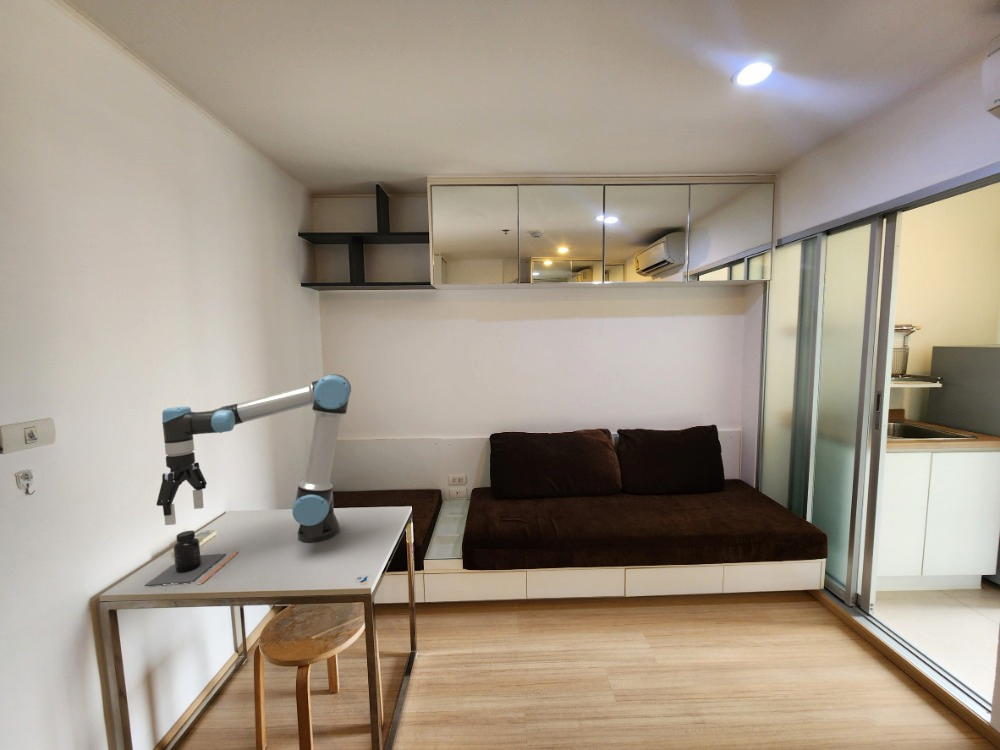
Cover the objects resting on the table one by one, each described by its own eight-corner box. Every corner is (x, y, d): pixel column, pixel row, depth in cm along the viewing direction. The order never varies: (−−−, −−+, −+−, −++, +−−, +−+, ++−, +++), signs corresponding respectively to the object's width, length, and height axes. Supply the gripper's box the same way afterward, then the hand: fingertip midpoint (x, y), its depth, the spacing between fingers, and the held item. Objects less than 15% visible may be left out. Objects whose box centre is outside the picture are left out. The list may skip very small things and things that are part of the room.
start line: (238, 553, 146) (238, 551, 146) (202, 584, 126) (202, 582, 126) (234, 553, 145) (234, 552, 145) (197, 584, 126) (197, 583, 126)
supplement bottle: (194, 561, 139) (192, 527, 139) (205, 565, 136) (202, 531, 136) (171, 570, 133) (168, 535, 133) (181, 575, 130) (179, 539, 130)
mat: (226, 555, 144) (225, 553, 144) (192, 583, 126) (192, 581, 126) (184, 558, 143) (184, 556, 143) (144, 586, 125) (144, 584, 125)
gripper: (193, 445, 145) (198, 503, 146) (137, 464, 120) (143, 533, 121) (215, 444, 146) (219, 501, 147) (164, 462, 121) (170, 531, 122)
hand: (185, 516), depth 134 cm, fingers open, 13 cm apart
